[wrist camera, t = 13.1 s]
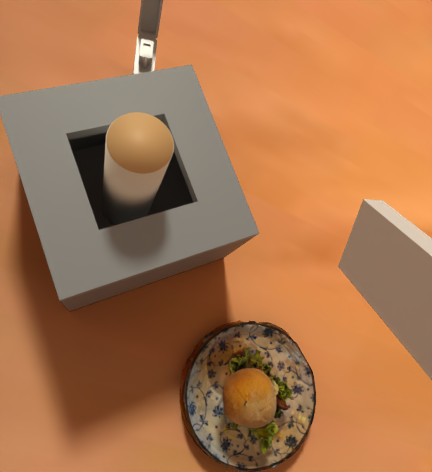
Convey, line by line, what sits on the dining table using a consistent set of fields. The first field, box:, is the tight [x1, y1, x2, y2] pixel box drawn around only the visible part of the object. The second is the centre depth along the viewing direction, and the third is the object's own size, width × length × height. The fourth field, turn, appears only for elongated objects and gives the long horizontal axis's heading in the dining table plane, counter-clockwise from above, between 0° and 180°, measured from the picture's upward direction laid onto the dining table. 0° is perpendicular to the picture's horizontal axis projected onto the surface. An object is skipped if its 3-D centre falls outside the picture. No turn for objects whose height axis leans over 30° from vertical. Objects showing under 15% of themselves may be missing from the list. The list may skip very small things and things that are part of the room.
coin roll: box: [102, 112, 174, 225], centre depth 30 cm, size 4×4×12 cm
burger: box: [180, 321, 316, 472], centre depth 32 cm, size 12×12×8 cm
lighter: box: [133, 0, 163, 74], centre depth 36 cm, size 7×2×8 cm, turn 178°
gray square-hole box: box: [0, 65, 259, 311], centre depth 32 cm, size 14×14×9 cm
